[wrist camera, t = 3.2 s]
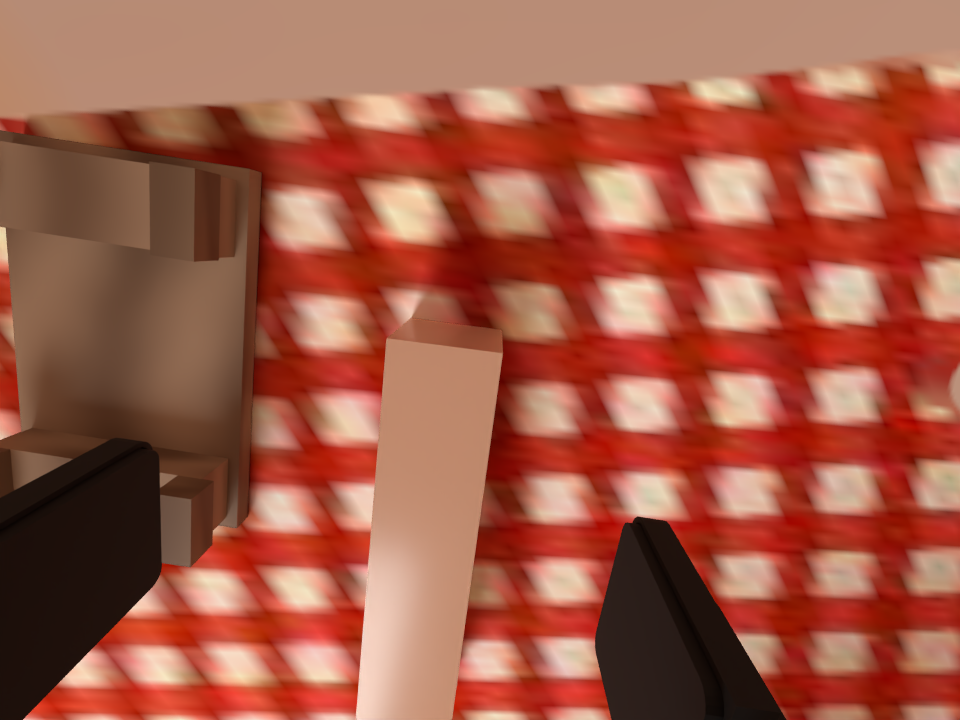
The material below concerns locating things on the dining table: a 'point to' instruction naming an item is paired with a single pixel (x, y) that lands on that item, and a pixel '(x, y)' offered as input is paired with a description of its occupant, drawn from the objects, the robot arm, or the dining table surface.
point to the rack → (134, 320)
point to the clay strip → (426, 515)
